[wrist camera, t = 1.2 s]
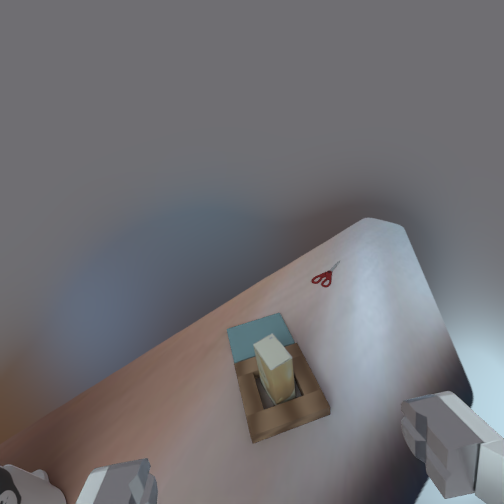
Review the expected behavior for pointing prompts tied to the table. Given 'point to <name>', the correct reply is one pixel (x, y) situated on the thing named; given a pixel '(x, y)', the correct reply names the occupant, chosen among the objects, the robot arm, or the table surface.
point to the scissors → (326, 274)
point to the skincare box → (275, 369)
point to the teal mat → (257, 335)
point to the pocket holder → (285, 413)
